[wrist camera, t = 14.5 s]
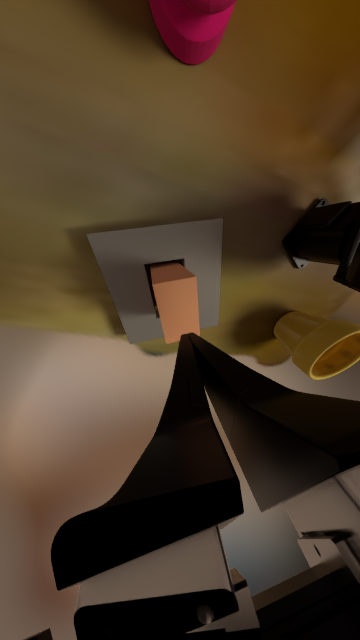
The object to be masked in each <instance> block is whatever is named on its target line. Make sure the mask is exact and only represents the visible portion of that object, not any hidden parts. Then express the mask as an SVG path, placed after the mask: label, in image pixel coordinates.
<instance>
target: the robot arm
mask: <svg viewBox="0 0 360 640" xmlns="http://www.w3.org/2000/svg"><path fill="white" fill-rule="evenodd" d="M283 245H284V247H285V249H286V250H287V252H288V254H289V255H290V257H291V259H292V261H293V262H294V264H295V266H296V267H297V268H298V269H302V268H303V267H304V266H305V265H306V264H307V263H308V262H309V261H313V262H321V263H328V264H336V265H339V266H338V269H337V272H336V275H334V278H333V280H334V281H336V282H339V283H341V284H343V285H345V286H347V287H350V288H352V289H354V290H356V291H358V292H360V202H357V203H352V202H351V201H347V202H342V203H337V204H332V205H329V204H328V201H327V199H326V198H323V199H320V200H319V201H318V202H317V203H316V204H315V206H314V207H313V208H312V209H311V210H310V211H309V212H308V213H307V214H306V215H305V216H304V218H303V219H302V220H301V221H300V222H299V223H298V224H297V225H296V226H295V227H294V229H293V230H292V231H291V232H290V233H289V234H288V235H287V236H286V237H285V238H284V240H283ZM204 387H205V389H204ZM205 390H206V392H207V394H208V396H209V398H210V400H211V403H212V405H213V407H214V409H215V412H216V414H217V416H218V418H219V420H220V422H221V425H222V427H223V429H224V431H225V433H226V436H227V438H228V440H229V442H230V445H231V447H232V449H233V451H234V454H235V456H236V458H237V460H238V462H239V465H240V467H241V469H242V471H243V473H244V475H245V478H246V480H247V482H248V484H249V487H250V489H251V491H252V493H253V495H254V498H255V500H256V502H257V504H258V506H259V508H260V511H261V512H263V511H266V510H268V509H271V508H273V507H276V506H278V505H280V504H283V505H284V507H285V509H286V511H287V512H288V514H289V516H290V518H291V520H292V522H293V524H294V526H295V528H296V530H297V532H298V534H299V536H300V538H298V539H297V540H298V543H299V545H300V547H301V549H302V551H303V553H304V555H305V557H306V559H307V561H308V563H309V565H310V567H311V568H309V569H307V570H305V571H303V572H301V573H299V574H297V575H295V576H293V577H291V578H289V579H287V580H285V581H283V582H281V583H279V584H277V585H275V586H273V587H271V588H269V589H266V590H264V591H262V592H260V593H259V594H256V595H254V596H252V597H251V595H250V591H249V588H248V585H247V582H246V579H245V578H244V577H243V576H242V575H241V574H240V573H239V571H238V570H237V569H236V568H233V569H231V570H229V566H228V562H227V558H226V554H225V550H224V546H223V542H222V538H221V534H220V529H223V528H224V527H225V526H227V525H228V524H229V523H231V522H232V521H233V520H235V519H236V518H237V517H239V516H240V515H241V514H243V512H244V509H243V502H242V496H241V489H240V481H239V479H238V476H237V474H236V472H235V470H234V467H233V465H232V463H231V460H230V458H229V456H228V453H227V451H226V449H225V446H224V444H223V442H222V439H221V437H220V435H219V433H218V430H217V428H216V426H215V423H214V421H213V418H212V415H211V411H210V408H209V404H208V400H207V396H206V393H205ZM51 562H52V567H53V572H54V577H55V581H56V587H57V590H58V591H59V590H62V589H65V588H68V587H71V586H74V585H77V584H79V583H80V588H79V593H78V598H77V603H76V608H75V613H74V626H75V631H76V636H77V640H360V401H353V400H347V399H341V398H334V397H328V396H322V395H315V394H309V393H302V392H298V391H294V390H291V389H289V388H287V387H285V386H282V385H281V384H279V383H277V382H275V381H273V380H271V379H269V378H267V377H265V376H264V375H262V374H259V373H258V372H256V371H254V370H252V369H250V368H249V367H247V366H245V365H244V364H242V363H240V362H238V361H237V360H236V359H234V358H232V357H231V356H229V355H228V354H226V353H225V352H223V351H221V350H220V349H218V348H217V347H215V346H214V345H212V344H211V343H209V342H207V341H206V340H204V339H203V338H201V337H200V336H198V335H197V334H195V333H193V332H191V333H187V334H182V335H181V337H180V342H179V347H178V353H177V358H176V364H175V369H174V374H173V379H172V384H171V388H170V391H169V395H168V398H167V401H166V404H165V407H164V410H163V413H162V416H161V419H160V422H159V424H158V427H157V429H156V432H155V434H154V436H153V438H152V440H151V441H150V443H149V444H148V446H147V448H146V449H145V451H144V453H143V454H142V455H141V457H140V459H139V460H138V462H137V464H136V465H135V466H134V468H133V470H132V471H131V473H130V474H129V476H128V478H127V479H126V481H125V482H124V484H123V485H122V486H121V488H120V489H119V491H118V492H117V493H116V494H115V495H114V496H113V497H112V498H111V499H110V500H109V501H107V502H106V503H105V504H103V505H102V506H100V507H98V508H96V509H93V510H90V511H87V512H84V513H82V514H79V515H77V516H75V517H73V518H71V519H69V520H67V521H66V522H65V523H64V524H63V525H62V526H61V527H60V528H59V530H58V532H57V533H56V535H55V537H54V541H53V543H52V548H51ZM24 640H53V639H52V635H51V631H50V628H49V629H47V630H44V631H42V632H40V633H37V634H35V635H33V636H30V637H28V638H26V639H24Z"/></svg>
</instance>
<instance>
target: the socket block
mask: <svg viewBox="0 0 360 640" xmlns="http://www.w3.org/2000/svg"><path fill="white" fill-rule="evenodd" d="M222 233H223V218H218V219H209V220H201V221H192V222H184V223H175V224H167V225H159V226H150V227H142V228H133V229H125V230H116V231H108V232H99V233H91V234H86V235H87V237H88V240H89V242H90V245H91V247H92V250H93V252H94V255H95V257H96V260H97V262H98V265H99V267H100V270H101V272H102V275H103V277H104V280H105V282H106V285H107V287H108V290H109V292H110V295H111V297H112V300H113V302H114V305H115V307H116V310H117V312H118V315H119V317H120V320H121V322H122V325H123V327H124V330H125V332H126V335H127V337H128V340H129V342H130V344H133V343H137V342H142V341H147V340H151V339H156V338H160V337H165V336H164V332H163V328H162V324H161V319H160V315H159V311H158V310H157V311H156V310H155V306H154V301H153V297H152V293H151V288H150V284H149V280H148V275H147V271H146V267H145V264H150V263H156V262H163V261H170V260H176V259H180V262H181V265H182V266H183V267H185V268H186V269H187V270H189V271H190V272H191V273H193V274H194V275H195V276H197V292H198V309H199V326H200V329H202V328H207V327H211V326H216V325H218V319H219V297H220V276H221V254H222Z"/></svg>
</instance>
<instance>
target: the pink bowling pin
mask: <svg viewBox="0 0 360 640" xmlns="http://www.w3.org/2000/svg"><path fill="white" fill-rule="evenodd" d="M235 2H236V0H149V4H150V8H151V11H152V15H153V18H154V21H155V24H156V26H157V28H158V30H159V33H160V35H161V37H162V39H163V41H164V42H165V44H166V45H167V47H168V48H169V49H170V51H171V52H172V54H173V55H174V56H175V57H177V58H178V59H179V60H181V61H182V62H184V63H187V64H193V65H196V64H200V63H202V62H204V61H206V60H207V59H208V58H209V57H210V56H211V55H212V54H213V53H214V52H215V50H216V49H217V47H218V45H219V43H220V42H221V40H222V37H223V35H224V32H225V30H226V27H227V24H228V21H229V19H230V16H231V13H232V11H233V8H234V5H235Z"/></svg>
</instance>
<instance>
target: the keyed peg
mask: <svg viewBox="0 0 360 640" xmlns="http://www.w3.org/2000/svg"><path fill="white" fill-rule="evenodd" d="M150 269H151V278H152V285H153V290H154V294H155V298H156V302H157V307H158V311H159V315H160V319H161V324H162V328H163V332H164V336H165V341H166V344H168V343H173V342H177V341H180V337H181V335H182V334H187V333H191V332H193V333H195V334H197V335H198V336H200V326H199V309H198V292H197V276H195V275H194V274H193V273H191V272H190V271H189V270H187V269H186V268H185V267H183V266H182V265H181V264H179V263H178V262H177V261H174V262H168V263H162V264H156V265H150Z"/></svg>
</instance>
